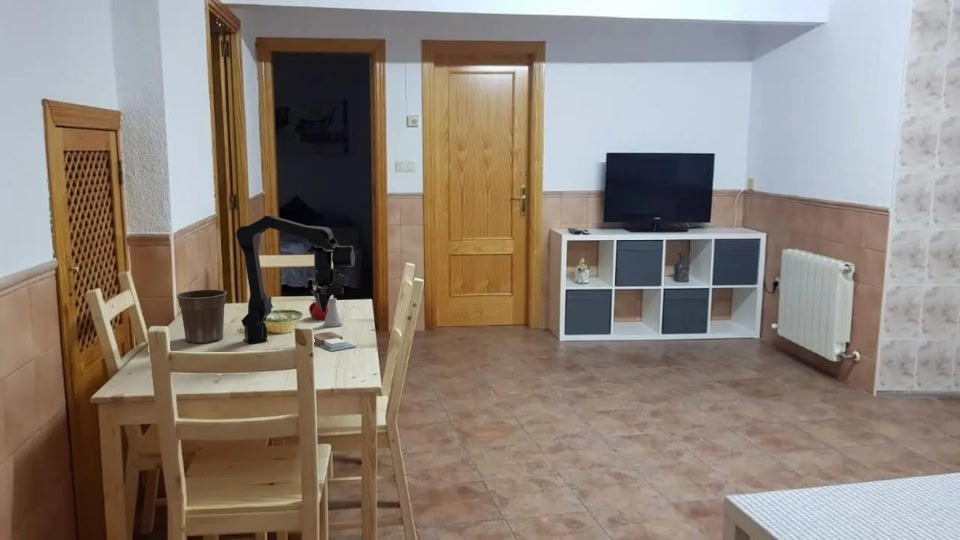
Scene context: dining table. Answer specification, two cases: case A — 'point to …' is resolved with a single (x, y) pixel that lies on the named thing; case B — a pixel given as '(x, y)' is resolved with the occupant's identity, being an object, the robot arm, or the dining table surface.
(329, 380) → the dining table surface
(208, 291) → the plant pot
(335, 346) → the white flat block
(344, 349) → the mat
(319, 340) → the deck
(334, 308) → the flask
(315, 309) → the pomegranate
